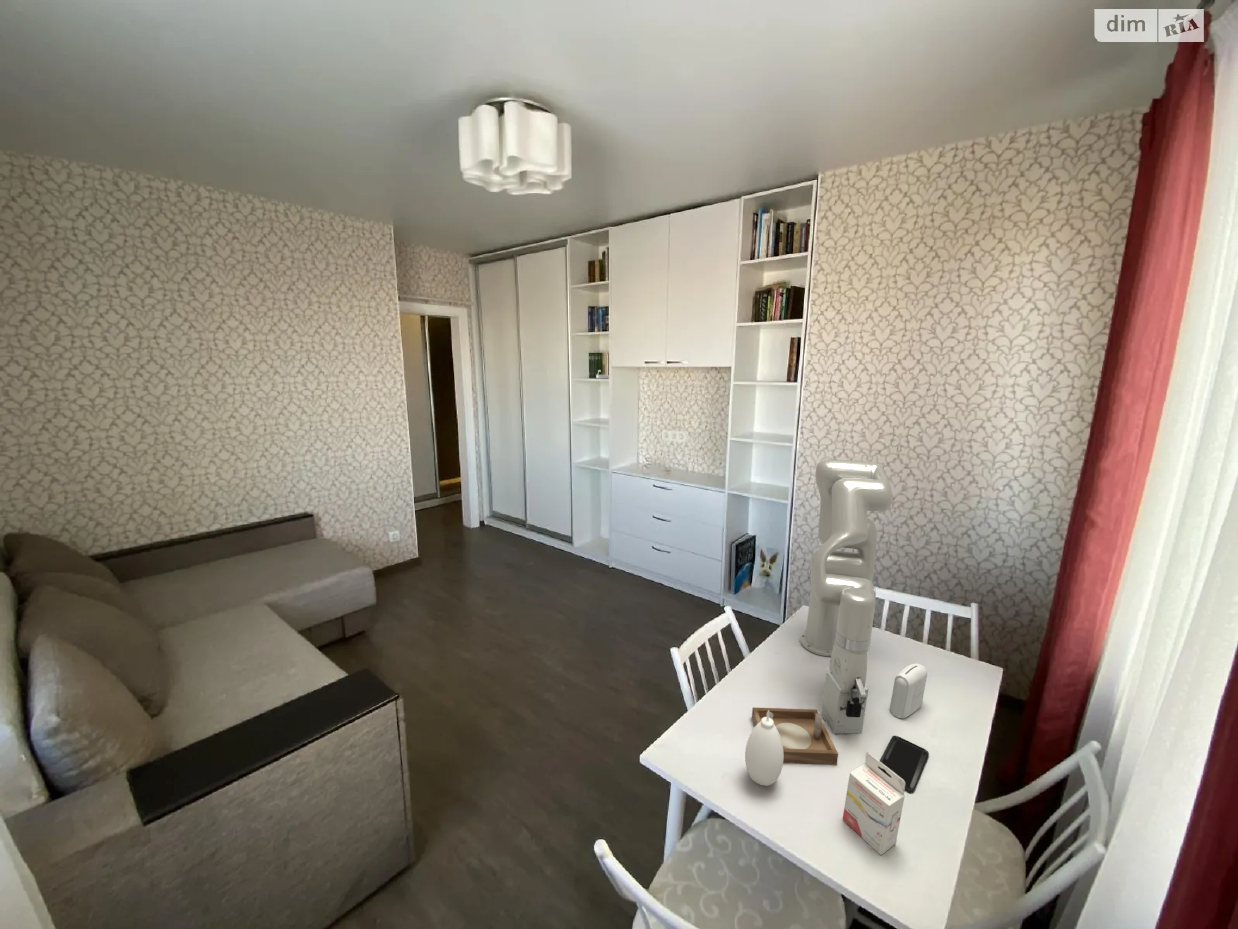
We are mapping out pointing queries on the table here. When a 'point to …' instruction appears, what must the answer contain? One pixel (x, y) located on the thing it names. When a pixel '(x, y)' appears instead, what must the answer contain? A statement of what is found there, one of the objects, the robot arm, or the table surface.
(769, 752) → the air blower bulb
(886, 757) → the phone
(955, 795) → the table surface
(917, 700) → the white rounded block
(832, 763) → the caddy
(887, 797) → the ink cartridge box
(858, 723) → the supplement box
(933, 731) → the table surface
